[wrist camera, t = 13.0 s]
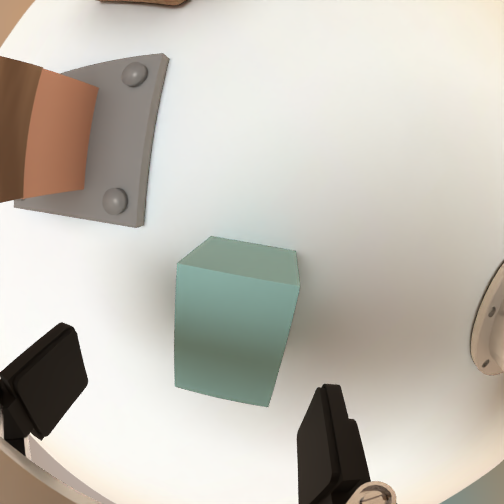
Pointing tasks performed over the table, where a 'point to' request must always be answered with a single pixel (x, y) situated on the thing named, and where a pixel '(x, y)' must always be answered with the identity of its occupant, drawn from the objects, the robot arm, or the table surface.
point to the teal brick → (233, 318)
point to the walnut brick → (15, 122)
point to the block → (154, 1)
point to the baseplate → (94, 140)
